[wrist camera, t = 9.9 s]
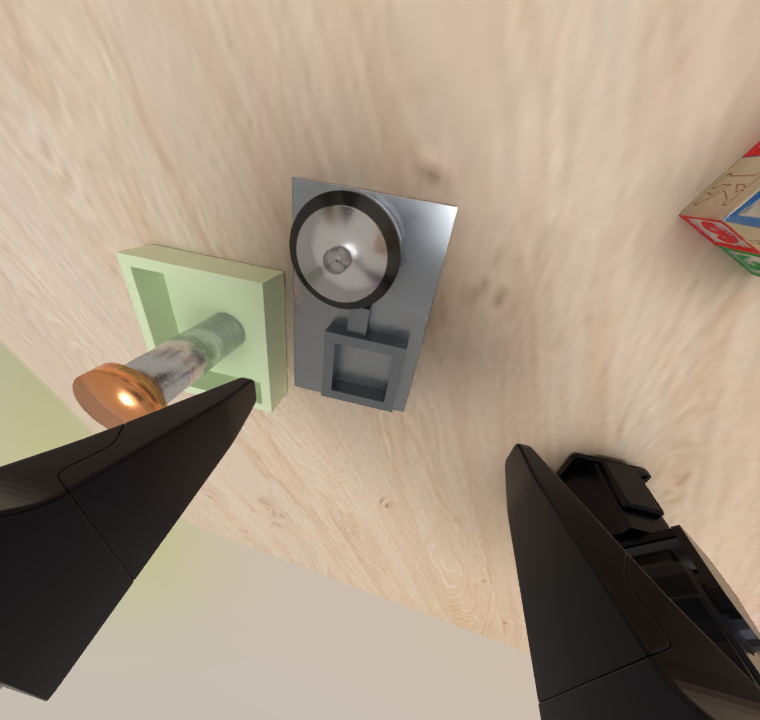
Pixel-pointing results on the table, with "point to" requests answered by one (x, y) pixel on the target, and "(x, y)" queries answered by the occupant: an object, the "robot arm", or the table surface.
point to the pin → (157, 372)
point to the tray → (213, 312)
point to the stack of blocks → (732, 211)
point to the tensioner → (363, 288)
